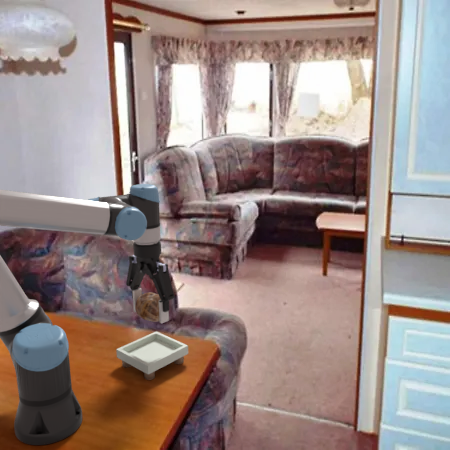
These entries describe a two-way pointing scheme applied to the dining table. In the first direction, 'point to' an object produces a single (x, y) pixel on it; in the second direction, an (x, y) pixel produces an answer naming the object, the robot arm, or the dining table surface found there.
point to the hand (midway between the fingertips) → (150, 315)
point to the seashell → (148, 306)
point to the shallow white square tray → (152, 353)
